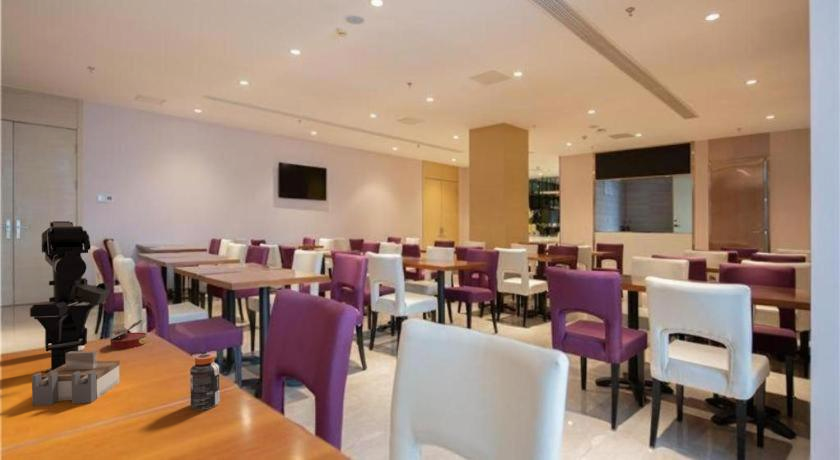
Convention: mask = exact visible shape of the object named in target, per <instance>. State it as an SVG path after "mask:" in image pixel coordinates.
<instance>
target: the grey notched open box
mask: <svg viewBox="0 0 840 460" xmlns="http://www.w3.org/2000/svg"><path fill="white" fill-rule="evenodd" d="M42 373H43V372H37V373H35V374H33V375H31V390H32V391H31V392H32V393H31V394H32V397H31V399H32V400H31V401H32V402H31V403H32V407H40V406H53V405H54V404H56V403H57V402H60V401H63V402H64V401H71V405H73V404H74V405H75V404H76V405H77V404H91V403H93V402H95V401H97V399H99V398H100V397H101V396H103V395H105V393H107V392H109V391H110V390H111V389H112V388H114V387H115V386H117V385H118V384H119V383H120V365H119V366H117V367H116V368H114V369H113V370H111V371H110V372H108V373H107V374H105V375H103V376H102V377H100V378H99V379H97V380H96V370H94V371H91V372H89V373H88V381H86V382H85V383H83V384H79V383H78V380H79V379H80V371H76V372H75V373H73V374H71V377H72V381H58V372H54V373H52V374H50V375H48V383H47V384H45V385H43V386H40V385H39V382H40V381H41V380H42V376H43V375H42Z"/></svg>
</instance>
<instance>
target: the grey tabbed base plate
mask: <svg viewBox="0 0 840 460" xmlns="http://www.w3.org/2000/svg"><path fill="white" fill-rule="evenodd" d="M117 366H119V367H120V360H104V361H103V360H102V361H101V360H100V361H98V351H97V350H80V351H73V352H68V353H66V364H64V365H62V366H60V367H58V368H56V369H54V370H52V371H50V372H48V373H45V374H43V375H42V380H41V381H40V382H39V385H40V386H43V385H45V384H47V383H48V375H50V374H52V373H54V372H58V381H72V377H71V374H73V373H75V372H76V371H80V379H79V380H78V383H79V384H83V383H85V382H86V381H88V373H89V372H91V371H94V370H96V380H97V379H99V378H100V377H102V376H103V375H105V374H107V373H108V372H110V371H111V370H113V369H114V368H116V367H117Z"/></svg>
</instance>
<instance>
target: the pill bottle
mask: <svg viewBox="0 0 840 460" xmlns="http://www.w3.org/2000/svg"><path fill="white" fill-rule="evenodd" d="M189 373H190V374H189V375H190V379H189V381H190V385H189V386H190V408H192V409H193V410H199V411H200V410H202V411H203V410H207V409H212V408H214V407H216V406H217V405H218V404H219V403H220V365H219V364H218V363H217V362H215V354H213V353H202V354H198V355H196V356H195V357H194V365H193V366H192V367H191V368H190V370H189Z"/></svg>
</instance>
